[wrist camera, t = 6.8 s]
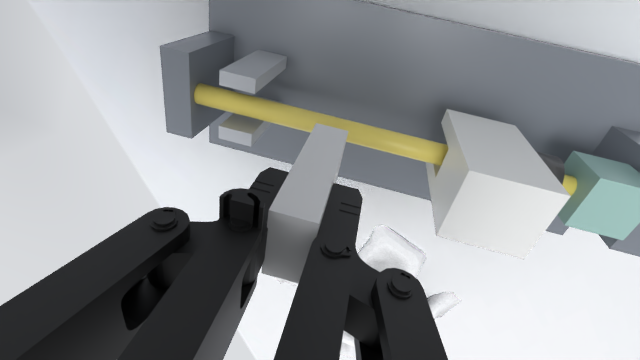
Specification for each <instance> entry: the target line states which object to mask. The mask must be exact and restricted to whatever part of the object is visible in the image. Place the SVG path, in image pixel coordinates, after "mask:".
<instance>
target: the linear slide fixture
mask: <svg viewBox="0 0 640 360" xmlns="http://www.w3.org/2000/svg"><path fill="white" fill-rule="evenodd" d="M160 54H161V67H162V79H163V91H164V104H165V116H166V129H167V132H168V133H172V134H176V135H180V136H184V137H187V138H191V139H192V138H193V137H194V136H196V135H197V134H198V133H199V132H201V131H202V130H203V129H205V128H206V127H207V126H208V125H209V142H210V143H214V144H218V145H222V146H225V147H229V148H233V149H237V150H241V151H244V152H248V153H252V154H256V155H260V156H263V157H267V158H271V159H275V160H279V161H282V162H286V163H290V164H294V163H295V161H296V159H297V157H298V155H299V154H300V152H301V150H302V148H303V146H304V144H305V143H306V141H307V139H308V137H309V135H310V133H311V132H312V130H313V128H314V126H315V124H316V123H318V124H322V125H326V126H330V127H334V128H338V129H342V130H346V131H348V135H347V140H346V144H345V148H344V152H343V156H342V160H341V164H340V168H339V172H338V176H339V177H343V178H347V179H351V180H355V181H358V182H362V183H366V184H370V185H374V186H377V187H381V188H385V189H389V190H393V191H396V192H400V193H404V194H408V195H412V196H415V197H419V198H423V199H427V200H431V196H430V189H429V182H428V175H427V169H426V162H427V163H431V164H435V165H439V166H441V165H442V163H443V160H444V158H445V156H446V154H447V151H448V149H449V148H448V145H447V141H446V138H445V135H444V131H443V128H442V124H441V122H442V119H443V117H444V115H445V112H446V110H447V109H450V110H454V111H458V112H462V113H466V114H470V115H474V116H478V117H482V118H487V119H491V120H495V121H499V122H503V123H507V124H511V125H515V126H516V127H517V128H518V129H519V131H520V132H521V133H522V135H523V136H524V137H525V138H526V140H527V141H528V142H529V143H530V145H531V146H532V147H533V149H534V150H535V151H536V152H537V154H538V155H539V156H540V157H541V159H542V160H543V161H544V163H545V164H546V165H547V166H548V168H549V169H550V170H551V172H552V173H553V174H554V175H555V177H556V178H557V179H558V180H559V182H560V183H561V184H562V186H563V187H564V188H565V189H566V191H567V192H568V193H569V195H570V196H571V197H570V198H569V199H568V201H567V202H566V203H565V205H564V206H563V208H562V209H561V210H560V212H559V213H558V214H557V216H556V217H555V218H554V220H553V221H552V222H551V224H550V225H549V226H548V228H547V229H546V231H549V232H552V233H556V234H560V235H563V234H564V233H565V231H566V230H567V229H568V228H569V227H573V228H577V229H581V230H585V231H589V232H592V233H596V234H599V236H600V237H601V238H602V240H603V241H604V242H605V243H606V245H607V246H608V247H609V249H613V250H617V251H620V252H624V253H628V254H632V255H636V256H639V257H640V63H635V62H631V61H627V60H622V59H618V58H613V57H609V56H604V55H600V54H595V53H591V52H586V51H582V50H577V49H573V48H568V47H564V46H559V45H555V44H551V43H546V42H542V41H537V40H533V39H528V38H524V37H519V36H515V35H510V34H506V33H501V32H497V31H492V30H488V29H484V28H479V27H475V26H470V25H466V24H461V23H457V22H452V21H448V20H443V19H439V18H434V17H430V16H425V15H421V14H416V13H412V12H408V11H403V10H399V9H394V8H390V7H385V6H381V5H376V4H372V3H367V2H363V1H358V0H209V32H205V33H202V34H198V35H195V36H192V37H188V38H185V39H181V40H178V41H175V42H171V43H168V44H164V45H161V46H160Z"/></svg>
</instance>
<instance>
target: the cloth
mask: <svg viewBox="0 0 640 360" xmlns="http://www.w3.org/2000/svg"><path fill="white" fill-rule="evenodd" d="M358 255H359V257H360V258H361V259H362V260H363V261H364V262H365V263H366V264H368V265H369V266H371V267H372V268H374V269H376V270H377V271H379V272H381V271H383V270H385V269H386V268H398V269H402V270H405V271H406V272H408V273H410V274H412V275H413V276H414V277H415V278H417V275H418V273H419V271H420V269H421V267H422V265H423V263H424V261H425V260H426V256H425V253H424V252H422V251H421V250H419V249H418V248H417V247H415V246H414V245H412V244H411V243H409V242H408V241H407V240H405V239H404V238H403V237H401V236H400V235H398V234H397V233H395V232H394V231H392V230H391V229H390V228H388V227H386V226H383V225H379V226H374V227H373V233H372V235H371V237H370V239H369V241H368V242H367V243H366V244H365V246H364V247H363V248H362V249H361V250H360V252H359V253H358ZM274 278H275V280H277V281H279V282H280V283H282V282H288V283H291V284H293V285H295V286H297V287H298V283H295V282H291V281H288V280H284V279H281V278H277V277H274ZM427 301H428V304H429V306H430V309H431V312H432V315H433V318H434V320H435V318H438V317H442V316H443V315H444V314H445V313H447V312H448V311H449V310H450V309H452V308H453V307H454V306H456V305H457V304H458V303H459V302H461V301H462V300H461V299H459V298H458V297H457V296H456V295H455V294H454V293H453V292H443V293H439V294H435V295H433V296H431V297H429V298H428V299H427ZM340 355H343V356H347V357H356V353H355V345H354V337H353V336H351V335H350V334H348V333H347V332H345V331H344V332H343V338H342V345H341V351H340Z"/></svg>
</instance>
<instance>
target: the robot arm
mask: <svg viewBox="0 0 640 360" xmlns="http://www.w3.org/2000/svg"><path fill="white" fill-rule="evenodd" d="M347 135H348V131H346V130H342V129H338V128H334V127H330V126H326V125H322V124H318V123H316V124H315V126H314V128H313V130H312V132H311V133H310V135H309V137H308V139H307V141H306V143H305V144H304V146H303V148H302V150H301V152H300V154H299V155H298V157H297V159H296V161H295V163H294V165H293V166H292V168H291V170H290V172H286V171H282V170H278V169H274V168H271V167H270V168H268V169H266V170H264V171H262V172H261V173H260V174H259V175H258V177H257V178H256V180H255V182H253V184H252V185H251V187H250V188H249V189H242V188H240V189H232V190H229V191H226V192H224V193H223V194H222V195H221V196H220V209H219V219H218V221H213V222H190V220H189V217H188V215H187V214H186V213H185V212H184V211H183V210H180V209H177V208H170V207H164V208H159V209H155V210H153V211H150V212H148V213H147V214H145V215H143V216H142V217H140V218H138V219H137V220H135V221H134V222H132V223H131V224H129V225H127V226H126V227H124V228H123V229H121V230H119V231H118V232H116V233H115V234H113V235H112V236H110V237H108V238H107V239H105V240H104V241H102V242H101V243H99V244H98V245H96V246H94V247H93V248H91V249H90V250H88V251H87V252H85V253H83V254H82V255H80V256H79V257H77V258H75V259H74V260H72V261H71V262H69V263H68V264H66V265H64V266H63V267H61V268H60V269H58V270H57V271H55V272H53V273H52V274H50V275H48V276H47V277H45V278H44V279H42V280H41V281H39V282H38V283H36V284H34V285H33V286H31V287H30V288H28V289H26V290H25V291H24V292H22V293H20V294H19V295H17V296H15V297H14V298H12V299H11V300H9V301H7V302H6V303H4V304H3V305H1V306H0V360H223V358H224V356H225V354H226V351H227V349H228V347H229V345H230V343H231V340H232V338H233V336H234V334H235V331H236V329H237V327H238V325H239V323H240V320H241V318H242V316H243V314H244V312H245V309H246V307H247V305H248V303H249V301H250V298H251V296H252V294H253V292H254V289H255V287H256V283H257V275H258V273H259V271H260V268H261V266H262V273H263V274H267V275H270V276H274V277H277V278H281V279H284V280H288V281H291V282H295V283H298V287H297V290H296V293H295V296H294V299H293V302H292V305H291V308H290V311H289V314H288V317H287V320H286V323H285V327H284V330H283V333H282V336H281V339H280V342H279V345H278V348H277V351H276V354H275V357H274V360H339V357H340V351H341V345H342V338H343V332H344V331H345V332H347V333H348V334H350V335H351V336H353V337H354V345H355V353H356V360H448V358H447V355H446V352H445V350H444V347H443V344H442V341H441V338H440V335H439V332H438V329H437V327H436V324H435V321H434V318H433V315H432V312H431V309H430V306H429V304H428V301H427V298H426V295H425V292H424V289H423V287H422V286H421V284H420V282H419V281H418V280H417V279H416V278H415V277H414V276H413V275H412V274H410V273H408V272H406V271H405V270H402V269H398V268H386V269H385V270H383V271H381V272H379V271H377V270H376V269H374V268H372V267H371V266H369V265H368V264H366V263H365V262H364V261H363V260H362V259H361V258H360V257H359V255H358V254H357V251H356V248H355V243H356V236H357V230H358V224H359V218H360V212H361V205H362V196H361V194H360V192H359V190H358V189H355V188H351V187H347V186H343V185H339V184H336V180H337V176H338V172H339V168H340V164H341V160H342V156H343V152H344V148H345V144H346V140H347Z"/></svg>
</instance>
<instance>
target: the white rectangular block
mask: <svg viewBox="0 0 640 360" xmlns="http://www.w3.org/2000/svg"><path fill="white" fill-rule="evenodd" d="M441 124H442V128H443V131H444V135H445V138H446V141H447V145H448V148H449V149H448V151H447V154H446V156H445V158H444V160H443V163H442V165H441V166H439V165H435V164H431V163H427V162H426V169H427V175H428V182H429V189H430V196H431V203H432V210H433V216H434V223H435V230H436V236H439V237H442V238H446V239H450V240H453V241H457V242H461V243H465V244H468V245H472V246H476V247H479V248H483V249H487V250H490V251H494V252H498V253H502V254H505V255H509V256H513V257H516V258H520V259H525V258H526V256H527V255H528V253H529V252H530V251H531V249H532V248H533V247H534V245H535V244H536V243H537V241H538V240H539V239H540V237H541V236H542V235H543V233H544V232H545V231H546V229H547V228H548V226H549V225H550V224H551V222H552V221H553V220H554V218H555V217H556V216H557V214H558V213H559V212H560V210H561V209H562V208H563V206H564V205H565V203H566V202H567V201H568V199H569V198H570V197H571V196H570V195H569V193H568V192H567V191H566V189H565V188H564V187H563V186H562V184H561V183H560V182H559V180H558V179H557V178H556V177H555V175H554V174H553V173H552V172H551V170H550V169H549V168H548V166H547V165H546V164H545V163H544V161H543V160H542V159H541V157H540V156H539V155H538V154H537V152H536V151H535V150H534V149H533V147H532V146H531V145H530V143H529V142H528V141H527V140H526V138H525V137H524V136H523V135H522V133H521V132H520V131H519V129H518V128H517V127H516V126H515V125H511V124H507V123H503V122H499V121H495V120H491V119H487V118H482V117H478V116H474V115H470V114H466V113H462V112H458V111H454V110H450V109H447V110H446V112H445V115H444V117H443V119H442V122H441Z"/></svg>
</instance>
